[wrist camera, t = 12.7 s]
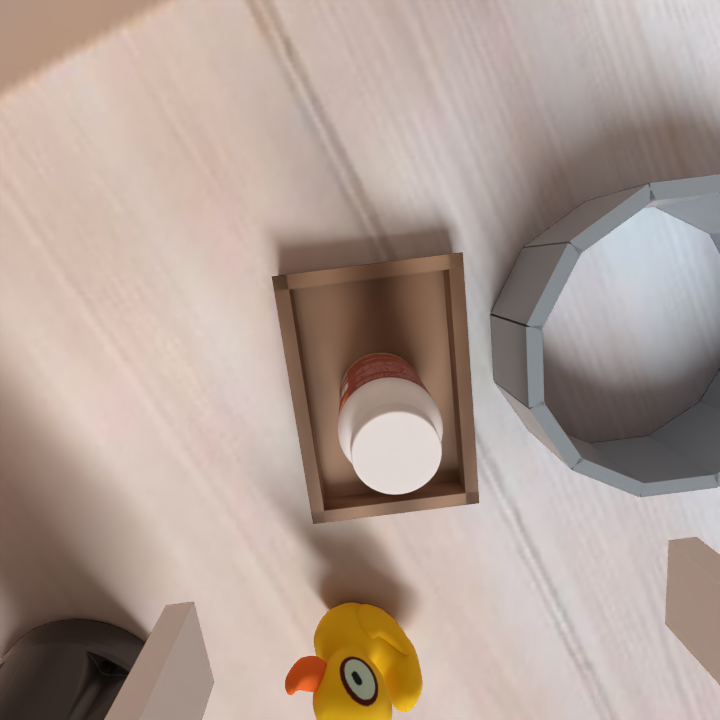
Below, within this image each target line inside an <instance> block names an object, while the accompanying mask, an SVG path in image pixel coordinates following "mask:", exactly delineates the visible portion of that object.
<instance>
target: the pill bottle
mask: <svg viewBox="0 0 720 720" xmlns="http://www.w3.org/2000/svg"><path fill="white" fill-rule="evenodd" d="M442 435H443V423H442V418H441V414H440V411H439V409H438V407H437V405H436V403H435V401H434V399H433V398H432V396H431V395H430V393H429V392H428V390H427V389H426V387H425V386H424V384H423V383H422V381H421V380H420V378H419V376H418V375H417V373H416V372H415V370H414V369H413V368H412V367H411V365H409V364H408V363H407V362H406V361H405V360H403V359H402V358H400V357H398V356H396V355H393V354H388V353H374V354H370V355H366V356H364V357H362V358H360V359H359V360H357V361H356V362H355V363H353V364H352V365H351V366H350V368H349V369H348V370H347V371H346V373H345V375H344V377H343V379H342V382H341V386H340V396H339V414H338V437H339V442H340V445H341V448H342V450H343V452H344V454H345V456H346V457H347V458H348V460H349V461H350V462H351V463H352V464H353V467H354V470H355V472H356V473H357V475H358V476H359V478H360V479H361V480H362V481H363V482H364V483H365V484H366V485H367V486H369V487H371V488H372V489H374V490H376V491H379V492H382V493H386V494H404V493H409V492H412V491H414V490H416V489H418V488H420V487H422V486H423V485H424V484H426V483H427V482H428V481H429V480H430V479H431V478H432V477H433V476H434V474H435V473H436V471H437V469H438V467H439V464H440V461H441V456H442V446H441V441H442Z"/></svg>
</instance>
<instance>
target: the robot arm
mask: <svg viewBox="0 0 720 720" xmlns="http://www.w3.org/2000/svg"><path fill="white" fill-rule="evenodd" d="M665 624H666V625H667V626H668V628H669V629H670V630H671V631H672V632H673V633H674V634H675V635H676V637H677V638H678V639H679V640H680V641H681V642H682V643H683V644H684V645H685V647H686V648H687V649H688V650H689V651H690V652H691V653H692V654H693V656H694V657H695V658H696V659H697V660H698V661H699V662H700V663H701V665H702V666H703V667H704V668H705V669H706V670H707V671H708V672H709V673H710V675H711V676H712V677H713V678H714V679H715V680H716V681H717V682H718V684H719V685H720V555H719V554H718V553H717V552H716V551H714V550H713V549H712V548H710V547H709V546H708V545H706V544H705V543H704V542H703V541H701V540H700V539H699V538H697V537H692V538H684V539H676V540H669V548H668V570H667V593H666V615H665ZM213 684H214V679H213V675H212V671H211V667H210V663H209V659H208V655H207V652H206V648H205V644H204V640H203V636H202V632H201V628H200V624H199V620H198V616H197V612H196V608H195V604H194V602H187V603H179V604H172V605H166V606H165V608H164V610H163V612H162V614H161V616H160V618H159V619H158V621H157V623H156V625H155V627H154V629H153V630H152V632H151V634H150V636H149V638H148V640H147V642H146V643H145V644H144V643H143V642H142V641H140V640H139V639H138V638H136V637H134V636H133V635H131V634H129V633H128V632H126V631H124V630H122V629H119V628H117V627H114V626H111V625H108V624H105V623H101V622H96V621H90V620H63V621H57V622H52V623H49V624H45V625H43V626H40V627H38V628H36V629H34V630H32V631H30V632H28V633H27V634H25V635H24V636H23V637H21V638H20V639H19V640H18V641H17V642H16V643H15V644H14V645H13V646H12V647H11V649H10V650H9V651H8V652H7V653H6V654H5V655H4V657H3V658H2V659H1V660H0V720H202V718H203V715H204V712H205V709H206V706H207V702H208V699H209V696H210V693H211V690H212V687H213Z"/></svg>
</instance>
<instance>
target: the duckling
mask: <svg viewBox="0 0 720 720" xmlns="http://www.w3.org/2000/svg"><path fill="white" fill-rule="evenodd" d="M314 647H315V652H316V655H317V656H307V657H303V658H300V659H299V660H298V661H297V662H296V663H295V664H294V665H293V667H292V668H291V670H290V671H289V673H288V675H287V677H286V680H285V689H286V691H287V693H288V694H289V695H292V694H294V693H295V691H297V690H303V691H309V692H314V693H313V709H314V713H315V716H316V718H317V720H391V719H392V705H393V706H394V707H395V708H396V709H397V710H399V711H401V712H407V711H409V710H411V709H412V708H413V707H414V705H415V704H416V702H417V700H418V698H419V696H420V694H421V691H422V676H421V670H420V665H419V661H418V657H417V654H416V651H415V649H414V646H413V645H412V643H411V642H410V640H409V639H408V638H407V636H406V635H405V633H404V631H403V630H402V628H401V627H400V626H399V625H398V623H397V622H396V621H395V620H394V619H393V618H392V617H391V616H390V615H388V614H387V613H386V612H385V611H384V610H382V609H381V608H378V607H375V606H372V605H369V604H359V603H354V602H349V603H344V604H341V605H339V606H336V607H334V608H332V609H331V610H329V611H328V612H327V613H326V614H325V615H324V616H323V618H322V619H321V621H320V623H319V625H318V627H317V629H316V631H315V636H314ZM391 703H392V704H391Z"/></svg>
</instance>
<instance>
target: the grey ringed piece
mask: <svg viewBox="0 0 720 720" xmlns="http://www.w3.org/2000/svg"><path fill="white" fill-rule="evenodd" d="M650 207H656V208H658V209H660V210H662V211H664V212H666V213H668V214H670V215H672V216H674V217H676V218H678V219H680V220H682V221H684V222H686V223H688V224H690V225H692V226H695V227H697V228H699V229H701V230H703V231H705V232H707V233H709V234H710V236H711V238H712V239H713V241H714V243H715V245H716V247H717V249H718V251H719V253H720V174H717V175H709V176H701V177H693V178H685V179H677V180H669V181H662V182H654V183H648V184H645V185H641V186H638V187H634V188H631V189H627V190H624V191H620V192H617V193H613V194H610V195H606V196H603V197H599V198H595V199H592V200H588V201H586V202H584V203H582V204H581V205H580V206H578V207H577V208H575V209H574V210H573V211H571V212H570V213H569V214H567V215H566V216H565V217H563V218H562V219H561V220H559V221H558V222H557V223H555V224H554V225H552V226H551V227H550V228H548V229H547V230H546V231H544V232H543V233H542V234H540V235H539V236H538V237H536V238H535V239H534V240H532V241H531V242H529V243H528V244H527V245H525V246H524V248H522V250H521V252H520V254H519V256H518V258H517V261H516V263H515V265H514V267H513V269H512V271H511V273H510V275H509V277H508V279H507V281H506V283H505V285H504V287H503V289H502V291H501V293H500V295H499V297H498V299H497V302H496V304H495V306H494V308H493V310H492V312H491V314H493V315H490V319H491V337H492V356H493V375H494V381H495V384H496V385H497V387H498V388H499V389H500V391H501V392H502V394H503V395H504V397H505V398H506V399H507V401H508V402H509V404H510V405H511V406H512V408H513V409H514V411H515V412H516V414H517V415H518V416H519V418H520V419H521V421H522V422H523V423H524V425H525V426H526V428H527V429H528V431H529V432H530V433H532V434H533V435H534V436H535V437H536V438H537V439H538V440H539V441H540V442H542V443H543V444H544V445H545V446H546V447H547V448H548V449H549V450H550V451H551V452H553V453H554V454H555V455H556V456H557V457H558V458H559V459H560V460H561V461H562V462H564V463H565V464H566V465H567V466H568V467H569V468H570V469H572V470H573V471H576V472H578V473H580V474H583V475H585V476H588V477H590V478H593V479H595V480H598V481H600V482H603V483H605V484H608V485H610V486H613V487H615V488H618V489H620V490H623V491H625V492H628V493H630V494H633V495H635V496H638V497H639V496H640V497H647V496H655V495H662V494H670V493H678V492H686V491H694V490H702V489H710V488H718V486H719V487H720V369H719V371H718V373H717V374H716V376H715V377H714V379H713V381H712V382H711V384H710V386H709V387H708V389H707V390H706V392H705V394H704V395H703V397H702V398H701V400H700V402H699V403H697V404H695V405H694V406H692V407H691V408H689V409H688V410H686V411H685V412H683V413H682V414H680V415H679V416H677V417H676V418H674V419H672V420H671V421H669V422H668V423H666V424H665V425H663V426H662V427H660V428H659V429H657V430H656V431H654V432H653V433H651V434H650V435H648V436H643V437H635V438H627V439H619V440H611V441H603V442H595V443H587V442H585V441H582V440H580V439H578V438H575V437H573V436H570V435H568V434H565V432H564V431H563V429H562V428H561V427H560V425H559V424H558V422H557V421H556V419H555V418H554V416H553V415H552V413H551V412H550V410H549V409H548V408H547V406H546V405H545V403H544V372H543V334H542V328H543V326H544V324H545V322H546V320H547V318H548V316H549V314H550V312H551V311H552V309H553V307H554V305H555V303H556V301H557V299H558V297H559V295H560V293H561V291H562V289H563V287H564V285H565V284H566V282H567V280H568V278H569V276H570V274H571V272H572V270H573V268H574V266H575V264H576V262H577V260H578V258H579V256H580V255H581V253H582V252H583V251H585V250H586V249H588V248H589V247H590V246H592V245H593V244H594V243H596V242H597V241H599V240H600V239H601V238H603V237H604V236H606V235H607V234H608V233H610V232H611V231H612V230H614V229H615V228H617V227H618V226H619V225H621V224H622V223H623V222H625V221H626V220H628V219H629V218H630V217H632V216H633V215H635V214H636V213H637V212H639V211H640V210H641V209H643V208H650Z"/></svg>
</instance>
